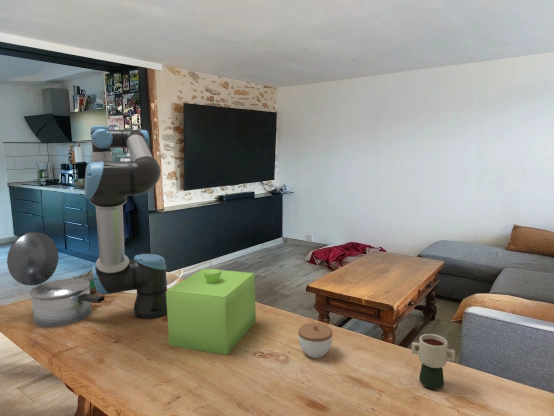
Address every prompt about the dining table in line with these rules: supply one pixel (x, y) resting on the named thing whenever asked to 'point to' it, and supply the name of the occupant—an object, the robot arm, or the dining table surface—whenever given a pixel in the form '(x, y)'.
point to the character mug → (432, 359)
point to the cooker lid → (32, 258)
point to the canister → (211, 310)
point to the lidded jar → (315, 339)
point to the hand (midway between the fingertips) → (107, 215)
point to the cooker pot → (62, 302)
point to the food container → (89, 277)
